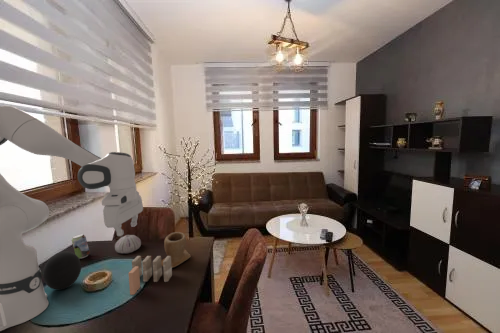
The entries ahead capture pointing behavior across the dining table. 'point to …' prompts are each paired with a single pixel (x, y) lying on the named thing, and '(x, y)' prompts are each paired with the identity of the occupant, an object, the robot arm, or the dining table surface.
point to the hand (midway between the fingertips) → (127, 230)
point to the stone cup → (176, 248)
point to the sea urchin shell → (127, 244)
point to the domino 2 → (134, 280)
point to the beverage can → (80, 246)
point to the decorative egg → (62, 270)
